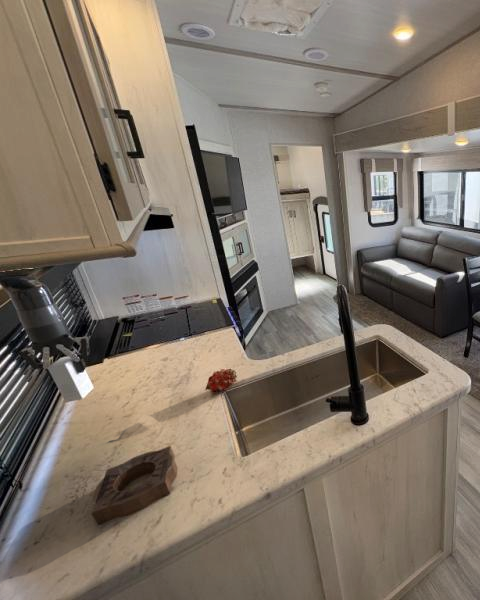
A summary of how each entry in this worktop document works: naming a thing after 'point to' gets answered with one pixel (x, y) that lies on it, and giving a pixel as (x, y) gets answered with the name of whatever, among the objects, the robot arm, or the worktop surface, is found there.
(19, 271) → the robot arm
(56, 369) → the cosmetic box
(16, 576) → the worktop surface
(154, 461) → the hole block
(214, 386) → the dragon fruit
